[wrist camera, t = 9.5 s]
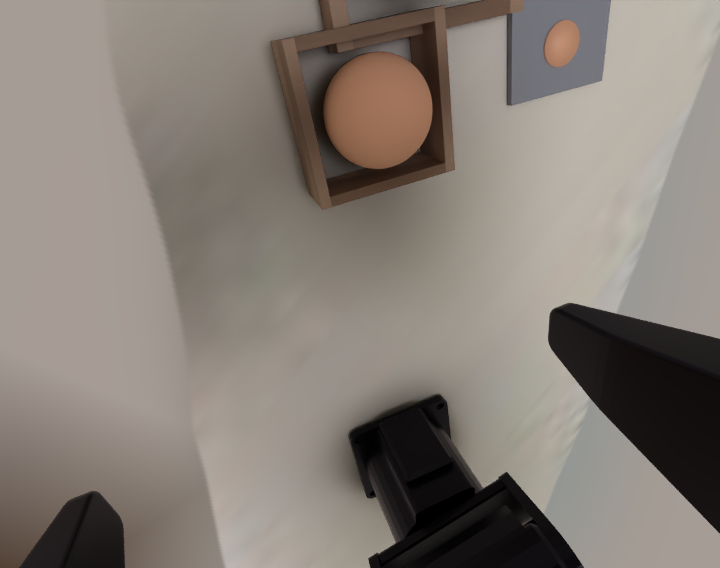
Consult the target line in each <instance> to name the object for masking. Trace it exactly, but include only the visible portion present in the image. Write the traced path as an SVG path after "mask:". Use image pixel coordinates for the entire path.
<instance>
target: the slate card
mask: <svg viewBox="0 0 720 568" xmlns="http://www.w3.org/2000/svg"><path fill="white" fill-rule="evenodd" d="M610 3H611V0H524V10H523V11H519V12H515V13H510V14H508V94H507V105H511V106H512V105H515V104H519V103H523V102H526V101H530V100H533V99H537V98H541V97H544V96H548V95H551V94H555V93H559V92H562V91H566V90H569V89H573V88H577V87H580V86H584V85H588V84H591V83H595V82H598V81H602V75H603V66H604V57H605V48H606V39H607V30H608V21H609V12H610Z"/></svg>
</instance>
